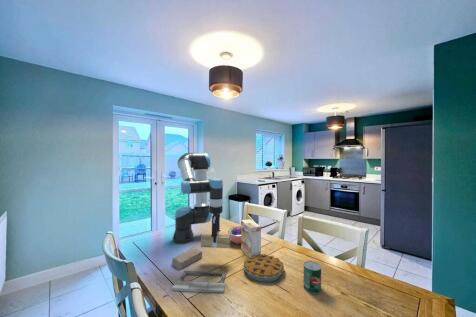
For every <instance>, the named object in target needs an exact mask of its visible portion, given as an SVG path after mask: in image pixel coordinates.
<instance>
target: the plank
mask: <svg viewBox="0 0 476 317" xmlns="http://www.w3.org/2000/svg"><path fill="white" fill-rule="evenodd" d="M211 235H212V233H205V232H203V233H202V234H201V237H200V241H201V242H200V244H201V246H200V247H201V248H210V249H211V248H212V237H211ZM230 246H231V239H230V234H228V233H219V234H217V248H216V249H230Z"/></svg>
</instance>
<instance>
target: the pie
mask: <svg viewBox="0 0 476 317" xmlns="http://www.w3.org/2000/svg"><path fill="white" fill-rule="evenodd" d="M284 265H285V264H284V263H283V262H282V261H281V260H280V259H279V258H278V257H275V256H274V255H267V254H266V253H265V254H261V255H260V254H257V255H252V256H251V257H246V259H245V260H244V262H243V266H242V268H243V269H244V271H245V272H246V274H247V276H248V277H249V278H251V279H253V280H256V281H259V282H268V283H269V282H275V281H276V280H279V278H280V276H281V275H282V274H283V272H284V270H285V266H284Z"/></svg>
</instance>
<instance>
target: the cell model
mask: <svg viewBox="0 0 476 317" xmlns="http://www.w3.org/2000/svg"><path fill="white" fill-rule="evenodd" d="M226 234H230V242H233V243H235V244H240V245H241V226H240V225H239V226H233V227H229V230H228V231H227V232H226Z"/></svg>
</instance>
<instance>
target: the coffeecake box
mask: <svg viewBox="0 0 476 317" xmlns="http://www.w3.org/2000/svg"><path fill="white" fill-rule="evenodd" d="M240 223H241V224H240V225H241V243H240V246H241V247H240V250H241V251H242V252H243V253H244V254H245V255H246V256H247V258H249V257H251V256H252V255H257V254H260V255H262V226H261V225H260V224H258V223H256V222H255V221H254V220H253V219H242V220H241V221H240Z"/></svg>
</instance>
